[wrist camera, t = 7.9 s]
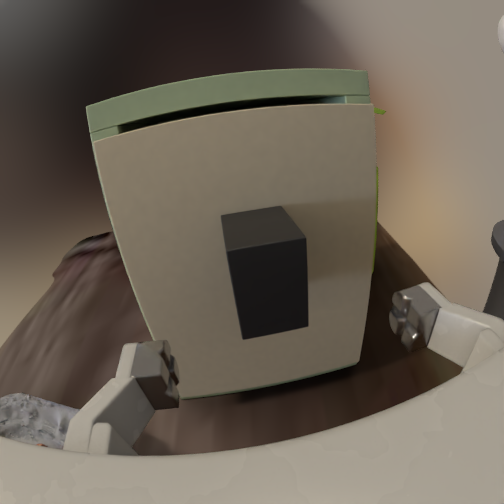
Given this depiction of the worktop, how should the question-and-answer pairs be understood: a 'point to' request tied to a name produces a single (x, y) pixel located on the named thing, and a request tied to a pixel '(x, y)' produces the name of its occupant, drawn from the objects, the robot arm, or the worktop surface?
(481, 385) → the robot arm
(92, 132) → the box
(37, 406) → the food plate
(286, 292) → the basket
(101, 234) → the worktop surface
